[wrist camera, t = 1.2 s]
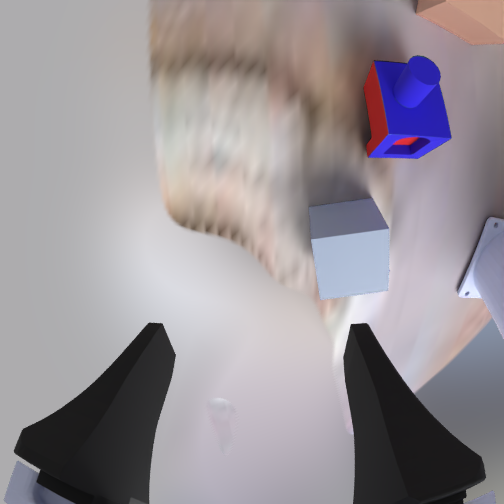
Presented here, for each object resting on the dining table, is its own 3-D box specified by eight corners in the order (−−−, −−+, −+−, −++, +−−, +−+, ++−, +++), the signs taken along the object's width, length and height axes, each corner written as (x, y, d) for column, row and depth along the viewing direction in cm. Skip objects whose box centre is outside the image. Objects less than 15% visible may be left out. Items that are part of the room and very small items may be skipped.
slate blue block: (372, 197, 19) (389, 228, 15) (375, 252, 21) (388, 290, 17) (308, 206, 20) (310, 239, 16) (317, 260, 22) (320, 299, 18)
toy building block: (407, 101, 16) (453, 42, 8) (417, 159, 16) (478, 123, 8) (359, 98, 17) (384, 30, 9) (367, 158, 17) (406, 114, 9)
